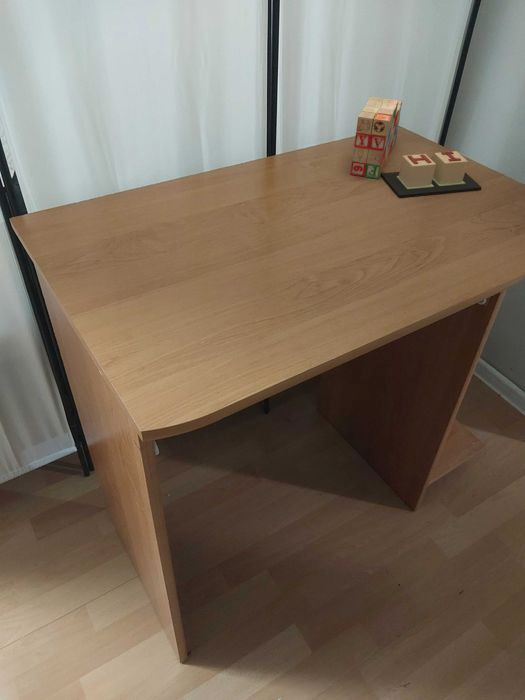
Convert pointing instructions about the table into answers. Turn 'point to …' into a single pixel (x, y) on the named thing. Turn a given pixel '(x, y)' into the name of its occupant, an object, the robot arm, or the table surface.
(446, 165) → the wooden letter block
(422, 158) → the cream cube
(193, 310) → the table surface
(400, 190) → the word mat
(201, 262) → the table surface
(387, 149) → the stack of blocks
